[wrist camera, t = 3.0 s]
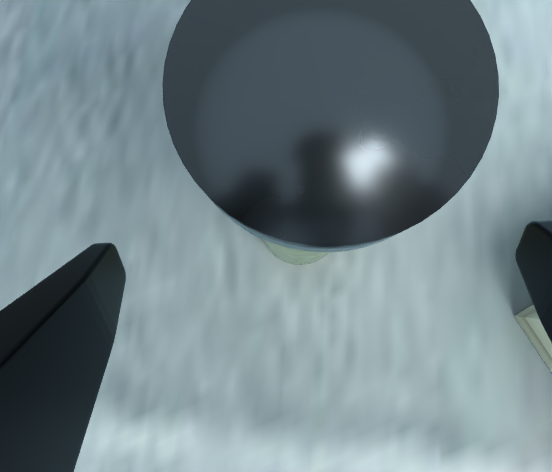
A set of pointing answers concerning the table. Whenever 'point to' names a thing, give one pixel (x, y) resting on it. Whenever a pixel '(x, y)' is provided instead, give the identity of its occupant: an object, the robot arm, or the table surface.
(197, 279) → the table surface
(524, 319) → the socket block
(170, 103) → the brass pin
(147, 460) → the table surface
